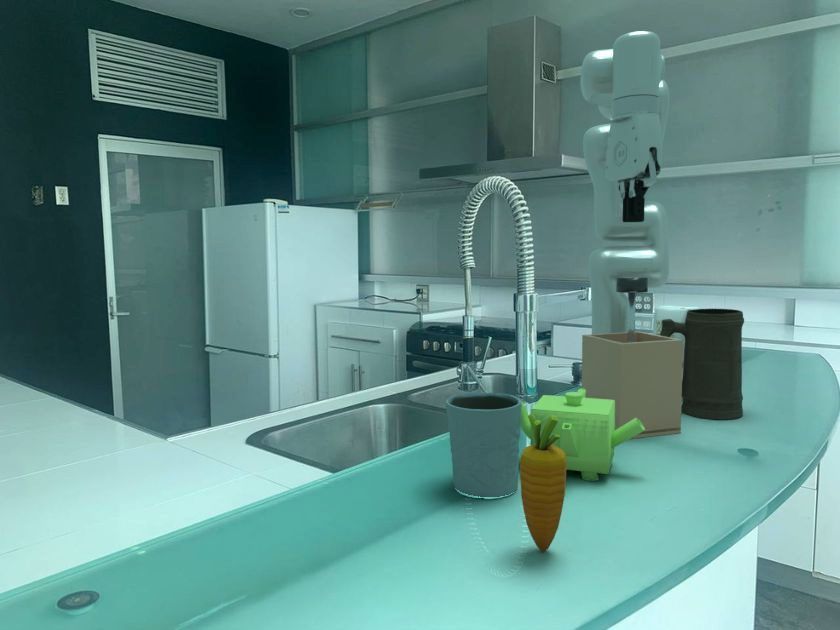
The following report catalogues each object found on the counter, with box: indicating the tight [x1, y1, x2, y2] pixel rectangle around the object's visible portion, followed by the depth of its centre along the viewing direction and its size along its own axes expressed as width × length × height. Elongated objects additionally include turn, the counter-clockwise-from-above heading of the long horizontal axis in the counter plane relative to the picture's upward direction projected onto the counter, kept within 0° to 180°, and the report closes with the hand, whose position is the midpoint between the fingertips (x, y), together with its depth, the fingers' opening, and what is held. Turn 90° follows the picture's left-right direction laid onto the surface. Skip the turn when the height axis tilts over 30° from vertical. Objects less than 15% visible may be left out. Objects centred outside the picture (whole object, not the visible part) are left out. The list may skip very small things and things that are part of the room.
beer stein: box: [660, 308, 745, 421], centre depth 121 cm, size 15×11×20 cm
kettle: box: [520, 388, 645, 481], centre depth 92 cm, size 15×14×11 cm
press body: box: [581, 330, 683, 440], centre depth 114 cm, size 14×12×16 cm
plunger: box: [616, 277, 649, 343], centre depth 111 cm, size 9×9×15 cm
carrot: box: [519, 413, 567, 552], centre depth 67 cm, size 5×5×15 cm
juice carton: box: [652, 304, 701, 401], centre depth 135 cm, size 8×9×19 cm
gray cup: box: [445, 392, 523, 497], centre depth 86 cm, size 10×10×12 cm
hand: (633, 221), depth 109 cm, fingers closed
